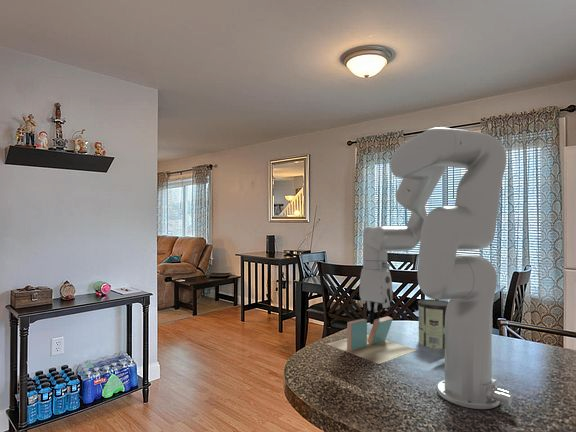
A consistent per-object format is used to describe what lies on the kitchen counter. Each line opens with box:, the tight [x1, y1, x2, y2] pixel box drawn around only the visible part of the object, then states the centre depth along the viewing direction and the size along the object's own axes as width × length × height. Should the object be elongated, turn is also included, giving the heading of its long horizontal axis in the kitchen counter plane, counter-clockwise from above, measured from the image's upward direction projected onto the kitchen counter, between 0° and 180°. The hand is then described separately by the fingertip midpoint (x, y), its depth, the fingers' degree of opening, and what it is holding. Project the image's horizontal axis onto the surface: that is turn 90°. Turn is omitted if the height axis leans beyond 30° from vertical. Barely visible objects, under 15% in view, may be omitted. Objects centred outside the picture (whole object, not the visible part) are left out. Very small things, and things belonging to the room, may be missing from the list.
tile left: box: [346, 318, 368, 351], centre depth 111 cm, size 2×7×8 cm, turn 128°
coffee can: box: [417, 298, 449, 350], centre depth 116 cm, size 10×10×14 cm
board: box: [326, 334, 417, 365], centre depth 111 cm, size 20×18×1 cm
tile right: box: [367, 315, 393, 345], centre depth 115 cm, size 2×7×8 cm, turn 128°
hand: (374, 323), depth 117 cm, fingers closed
